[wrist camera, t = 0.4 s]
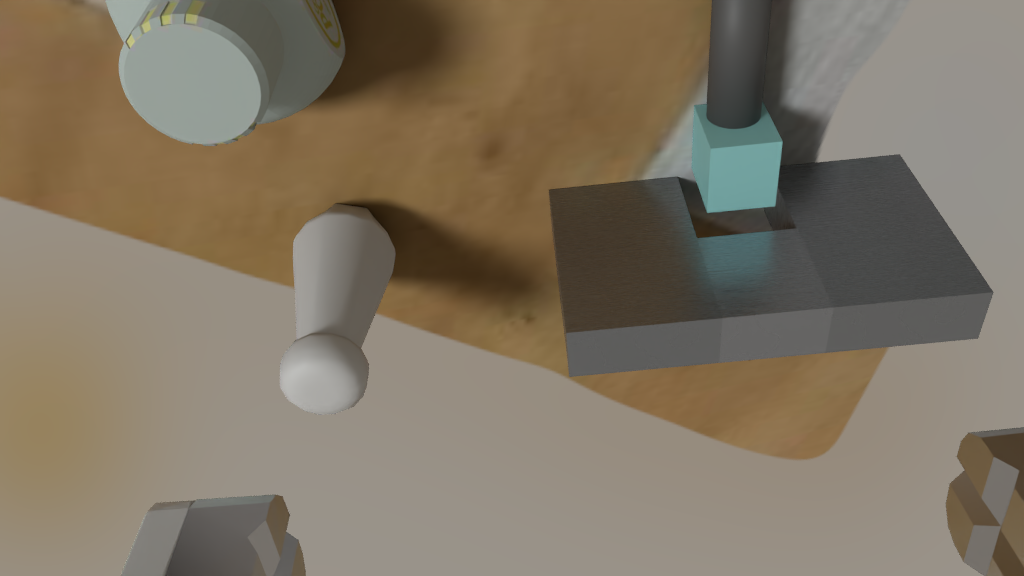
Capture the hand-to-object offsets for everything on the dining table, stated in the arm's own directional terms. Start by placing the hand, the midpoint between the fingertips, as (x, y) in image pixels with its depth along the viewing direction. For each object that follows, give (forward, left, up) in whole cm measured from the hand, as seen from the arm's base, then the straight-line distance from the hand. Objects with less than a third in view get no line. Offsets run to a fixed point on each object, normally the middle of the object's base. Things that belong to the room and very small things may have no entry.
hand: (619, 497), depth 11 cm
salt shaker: (+22, -12, -37) cm, 44 cm away
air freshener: (+7, -14, -37) cm, 40 cm away
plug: (+13, +10, -36) cm, 40 cm away
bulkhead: (+22, +10, -36) cm, 44 cm away
